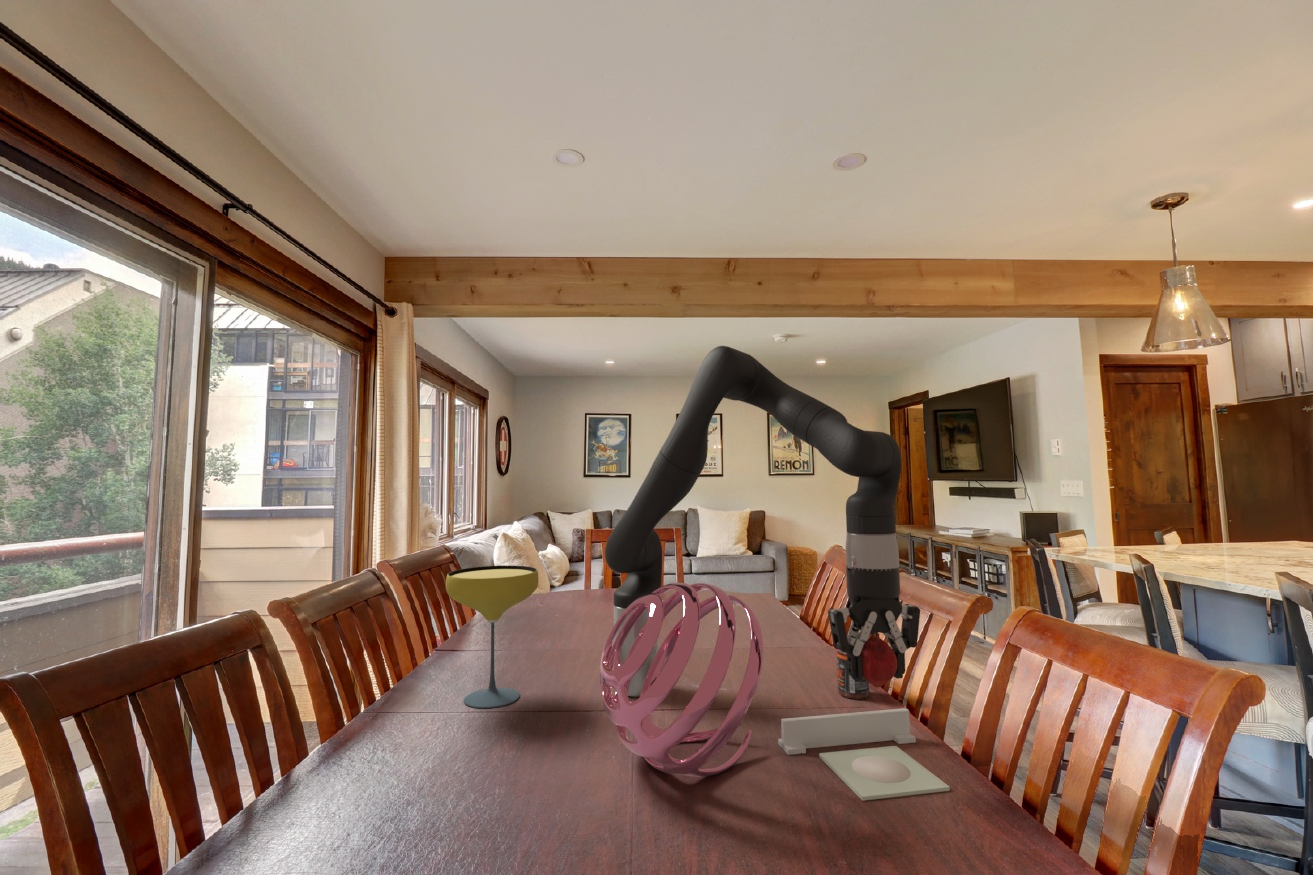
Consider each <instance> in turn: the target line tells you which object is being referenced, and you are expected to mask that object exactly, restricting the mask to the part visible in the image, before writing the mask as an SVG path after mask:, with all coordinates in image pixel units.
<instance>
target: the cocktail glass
mask: <svg viewBox="0 0 1313 875" xmlns="http://www.w3.org/2000/svg"><path fill="white" fill-rule="evenodd" d="M538 586H539V571H538V569H537V568H535V567H531V566H526V565H525V566H524V565H486V566H475V567H473V566H472V567H467V568H461V569H456V570H453V571H450V572H448V573H447V575H446V578H445V590H446V593H447V595H448V596H449V597H450V598H451V599H452V600H453V601H455V602H457V603H458V604H461V605H463V606H465V607H467V608H469V609H471V610H474V611H476V612H478V613H479V614H481V615H482V616H483V618H484V619H485V620H486V622H488V623H490V627H491V628H490V630H491V631H490V669H489V670H490V672H489V673H490V674H489V675H490V676H489V683H488V688H483V689H479V690H477V691H473V692H471V693H470V694H467V695H466V696H465V697H464V698H463V703H464V705H466V706H467V707H469V706H471V707H470V708H473V707H474V709H485V710H486V709H495V708H501V707H504V706H508V705H511V704H513V703H515V702H516V701H518V700H519V699H520V696H521V693H520V691H519V690H516V689H514V688H509V687H497V685H496V680H495V678H496V677H495V623H497V622H498V621H499V620H500V619H501V618H502V616H503V614H504V613H505V612H506V611H508V610H510V609H511V608H513V607H514V606H516V605H518V604H520V603H521V602H523V601H525V600H526V599H528V598H529V597H531V596H532V594H534V593H535V591H536V590H537V589H538Z"/></svg>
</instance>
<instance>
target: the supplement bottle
mask: <svg viewBox="0 0 1313 875" xmlns="http://www.w3.org/2000/svg"><path fill="white" fill-rule="evenodd" d="M848 637H849V634H847V639H848ZM836 662H837V663H836V666H837V668H836V669H837V670H836V671H837V691H838V693H839V694H840V695H841V696H843V697H844V698H846V699H851V698H852V699H853V698H854V700H860V699H861V700H863V699H866V698H868V697H869V696H870V683H869V682H868V681H866V680H865V679H864V678H863V681H862V682H856V681H855V680H853V679H852V677H851V676H850V675H849V674H848V666H847V665H848V664H847V653H844V652H842V651H841V650H839V649H837V648H836ZM862 698H863V699H862Z"/></svg>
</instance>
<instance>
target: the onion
mask: <svg viewBox="0 0 1313 875" xmlns="http://www.w3.org/2000/svg"><path fill="white" fill-rule="evenodd" d="M860 656H862V672H863V678H864V679H865V680H866V681H868V682H869V685H872V686H873V687H874V688H876V689H877V688H878V689H879V688H881V687H882V686H883V685H885V684H886V683H888V682H890V680H892V679H893V678H894V677H893V676H894V674H895V673H896V671H897V666H898V665H897V658H896V655H895V653H894V651H893V650H892V648H891V647H890V645H889V643H887V642H886V641H884V640H883V639H881V637H880V633H879V632H878V633H875V634H870V636H869V637H868V640H867V641H866V642H865V643H864V645H863V648H862V650H861V653H860Z"/></svg>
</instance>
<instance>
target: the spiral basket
mask: <svg viewBox="0 0 1313 875" xmlns="http://www.w3.org/2000/svg"><path fill="white" fill-rule="evenodd" d="M671 590H675V592H674V593H672V594H671V595H670V596H669V597H668V598H667V599H666V600H663V598H662V595H663V594H664V593H666V592H668V591H671ZM702 591H710V592H711V593H712V594H713V596H711V597H708V598H706V599H704V600H703V601H700V597H699V594H698V592H702ZM681 602H682V616H681V619H679V620H678V622H677V623H676V624H675V625H674V627H673V628H672V629H671V630H670V632H669V633H668V635H667V636H666V637H665V639H664V640H663V641H662V643H661V645H660V647H658V652H657V654H656V656H655V657H654V659H653V662H652V664H651V666H650V668H649V670H648V673H647V675H646V678H645V681H644V684H643V687H642V691H641V694H640V696H638V698H637V699H636V700H634V701H631V700H630V698H629V696H627V692H628V688H629V684H630V681H631V678H632V677H633V676H634V675H635V674H636V673H637V671H638V670H639V669H640V668H641V666H642V665H643V664H644V662H645V661H646V659H647V658H648V656H649V654H650V653H651V651H652V649H653V647H654V645H655V643H656V641H657V638H658V639H659V635H660V634H661V630H662V626H663V622H664V620H665V618H666V617H667V616H668V615H669V614H670V612H672V610H674V608H676V607H677V606H678V605H679V604H680V603H681ZM734 606H737V607H738V606H739V607H741V608H742V609H743V610H744V612H745V614H746V616H747V620H748V624H749V630H750V644H749V645H750V648H749V654H748V659H747V665H746V669H745V672H744V676H743V679H742V682H741V685H740V688H739V690H738V692H737V694H736V697H735V698H734V701H733V703H732V705H731V707H730V709H729V711H728V712H727V714H726V716H725V717H724V719H723V721H722V722H721V724H720V725H719V726H718V727H717V728H713V729H711V728H710V729H706V730H694V729H695V728H696V727H697V725H698V724H699V723H700V721H701V720H702V719H703V718H704V716H705V715H706V713H707V712H708V710H709V709H710V707H711V705H712V703H713V702H714V700H715V698H716V696H717V695H718V693H719V691H720V688H721V686H722V684H723V682H724V679H725V677H726V674H727V672H728V669H729V666H730V663H731V660H732V656H733V652H734V647H735V640H736V632H737V631H736V630H737V624H736V623H737V621H736V620H737V619H736V612H735V608H734ZM647 608H648V619H647V622H646V624H645V625H644V627H643V628H642V630H641V631H640V633H639V635H638V636H637V638H636V640H635V642H634V643H633V645H632V647H631V649H630V651H629V654H628V656H627V658H626V660H625V662H624V663H623V664H621V661H620V653H619V652H620V649H621V647H622V645H623V643H624V641H625V639H626V637H627V636H628V634H629V632H630V630H631V629H632V627H633V626H634V624H635V623H636V621H637V620H638V618H639V617H640V616H641V615H642V613H643V612H644V611H645V610H646V609H647ZM634 609H635V610H634ZM717 609H718V614H719V615H718V616H719V622H718V623H719V625H718V631H717V637H716V642H715V647H714V651H713V654H712V657H711V659H710V663H709V665H708V667H707V670H706V672H705V674H704V676H703V678H702V680H701V682H700V684H699V686H698V687H697V690H696V692H695V693H694V695H693V697H692V698H691V700H690V701H689V703H688V704H687V705H686V707H685V708H684V709H683V711H682V712H681V713H680V714H679V715H678V717H677V718H675V720H674V721H673V722H672V723H671V724H670V725H668V727H666V728H665V727H661V726H658V725H656V724H655V723H653V721H652V719H651V718H652V716H651V715H652V714H653V712H654V711H656V709H658V708H659V706H661V704H662V703H663V702H664V701H665V700H666V698H667V697H668V696H669V695H670V693H671V691H672V690H673V688H674V687H676V685H677V683H678V682H679V679H680V677H681V676H682V675H683V672H684V671H685V668H686V666H687V665H688V662H689V660H690V658H691V655H692V652H693V649H694V648H695V644H696V641H697V638H698V633H699V629H700V624H701V622H700V621H701V620H702V619H703V618H704V617H705V616H707V615H708V614H709V613H711V612H713V611H715V610H717ZM633 610H634V611H633ZM632 611H633V612H632ZM631 612H632V613H631ZM630 613H631V615H630V616H629V618H628V619H627V620H626V622H625V624H624V625H623V627H622V628H621V630H620V632H619V634H618V636H617V638H616V640H615V642H614V644H613V640H614V637H615V635H616V633H617V631H618V630H619V628H620V626H621V625H622V623H623V622H624V620H625V619H626V618H627V616H628V615H629V614H630ZM764 647H765V646H764V636H763V629H762V626H761V622H760V620H759V617H758V616H757V614H756V612H755V611H754V610H753V608H752V607H751V606H750V605H749V604H748V603H747V602H745V601H744V600H743V599H742V598H739V597H737V596H734V595H732V594H727V593H726V592H725V591H724V590H723V589H722V588H719V587H718V586H716V585H714V584H710V583H704V582H701V583H700V582H699V583H698V582H697V583H693V584H688V583H685V582H672V583H668V584H664V585H661V587H660V588H658V589H656V590H655V591H653V592H652V593H649V594H646V595H643V596H641V597H640V598H638V599H637V600H635V601H634V602H633V603H632V604H630V605H629V606H628V607H627V608H626V610H625V611H624V612H623V613H622V614H621V616H620V617H619V618H618V620H617V621H616V623H615V625H614V624H613V626H612V628H611V629H610V632H609V634H608V636H607V638H606V640H605V644H604V647H603V649H602V653H601V659H600V664H599V681H600V691H601V700H602V704H603V708H604V711H605V713H606V715H607V717H608V719H609V720H610V721H611V722H612V723H613V724H614V726H615V730H616V732H617V736H618V738H619V739H620V741H621V742H622V744H624V746H625V747H626V748H627V749H628V750H629V751H630V752H632V753H633V754H635V756H636V755H637V756H639V757H643V758H644V760H645V762H647V763H648V764H649V766H651V767H653V769H655V770H657V771H660V772H661V773H664V774H665V773H666V774H670V775H675V776H676V775H677V776H686V777H700V778H701V777H709V776H710V777H711V776H714V775H717V774H721V773H723V772H726V771H727V770H729V769H731V767H733V766H734V765H735V764H736V763H738V761H739V760H740V759H741V758H742V757H743V755H744V754H745V752H746V750H747V749H748V747H749V745H750V742H751V740H752V736H753V730H752V729H751V728H750V729H749V730H748V731H747V733H746V734H745V737H744V739H743V740H742V743H741V744H740V745H739V747H738V749H737V750H736V751H735V752H734V754H733V755H732V756H730V757H729V759H727V760H726V761H724V762H723V763H721V764H719V765H717V766H714V767H709V768H701V767H703V766H704V765H705V764H707V763H708V762H709V761H711V760H712V759H713V758H714V757H715V756H716V755H717V754H719V752H720V751H721V750H722V749H723V748H724V747H725V746H726V745H727V743H728V742H729V741H730V740H731V738H732V737H733V736H734V734H735V733H736V731H737V730H738V728H739V726H741V725H742V721H743V720H744V718H745V716H746V714H747V712H748V711H749V708H750V705H751V704H752V701H753V700H754V699H753V698H754V697H755V694H756V691H757V687H758V684H759V680H760V677H761V672H762V667H763V661H764V660H763V659H764ZM612 688H613V689H614V688H615V690H616V693H615V692H614V693H615V694H614V695H613V694H612V693H613V692H612V691H611V689H612ZM626 728H627V729H628V730H629V731H630V732H631V733H632V735H634V738H635V739H636V742H633V741H631V740H630V738H629V736H628V734H627V732H626V731H627V730H626ZM706 740H707V741H706ZM701 741H706V742H705V743H704V745H702V746H701V747H700V748H699V749H698V750H697V751H695V752H694V753H693V754H692V755H691V756H690V755H689V757H687V758H685V759H676V758H674V757H672V756H671V755H670V754H669V752H670V750H672V749H673V748H675V747H676V746H677V745H679V744H680V743H681V744H682V743H694V742H696V743H697V742H701Z"/></svg>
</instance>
